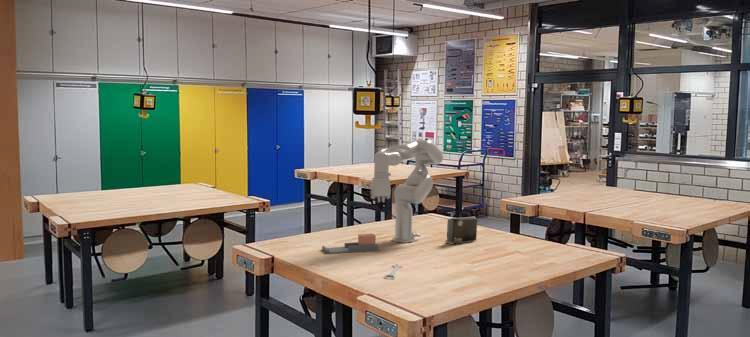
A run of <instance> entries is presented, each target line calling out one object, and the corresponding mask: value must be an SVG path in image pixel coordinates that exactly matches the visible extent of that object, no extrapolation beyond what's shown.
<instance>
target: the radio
mask: <svg viewBox="0 0 750 337" xmlns="http://www.w3.org/2000/svg"><path fill="white" fill-rule="evenodd" d="M446 227H447V228H446V229H447V230H446V240H444V242H445V243H446V244H451V245H459V244H466V243H467V244H468V243H472V242H471V241H473V240H476V241H477V235H478V234H477V232H478V230H477V229H478V219H477V217H476V216H467V217H466V216H465V217H449V218H447V226H446ZM473 242H474V241H473Z"/></svg>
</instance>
